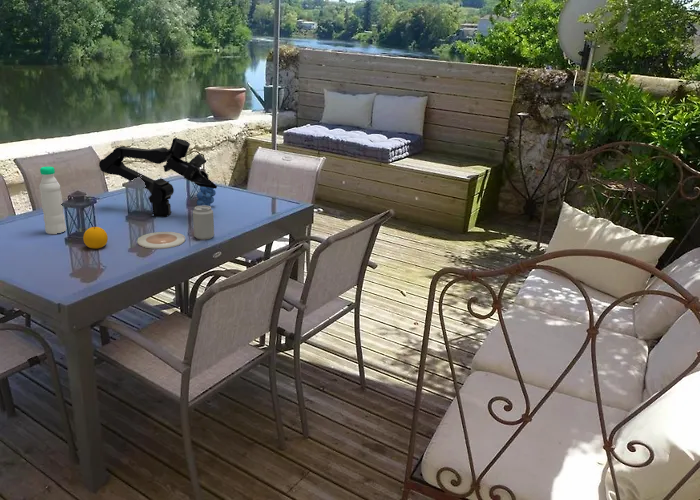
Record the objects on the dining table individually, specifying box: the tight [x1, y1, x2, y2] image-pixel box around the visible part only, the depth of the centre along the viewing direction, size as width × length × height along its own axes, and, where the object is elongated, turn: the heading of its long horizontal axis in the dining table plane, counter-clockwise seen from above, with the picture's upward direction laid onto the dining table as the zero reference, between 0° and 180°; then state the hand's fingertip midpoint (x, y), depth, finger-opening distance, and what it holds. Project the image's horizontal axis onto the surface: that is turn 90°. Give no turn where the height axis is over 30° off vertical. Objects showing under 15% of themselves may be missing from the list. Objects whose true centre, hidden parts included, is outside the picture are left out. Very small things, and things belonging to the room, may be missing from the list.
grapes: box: [196, 186, 217, 207], centre depth 253 cm, size 12×7×12 cm, turn 152°
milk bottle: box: [38, 166, 67, 235], centre depth 213 cm, size 7×7×25 cm
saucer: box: [136, 231, 186, 250], centre depth 213 cm, size 17×17×1 cm
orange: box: [82, 226, 109, 250], centre depth 203 cm, size 8×8×8 cm
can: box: [192, 205, 215, 241], centre depth 217 cm, size 8×8×12 cm
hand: (213, 185), depth 233 cm, fingers open, 9 cm apart
